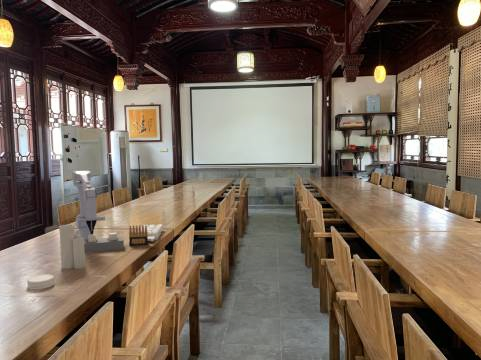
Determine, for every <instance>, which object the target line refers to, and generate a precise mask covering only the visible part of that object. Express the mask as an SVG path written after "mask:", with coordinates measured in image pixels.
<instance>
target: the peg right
mask: <svg viewBox="0 0 481 360" xmlns="http://www.w3.org/2000/svg"><path fill="white" fill-rule="evenodd" d="M117 237H118V236H117V232H109V233H108V238H109V241H111V240H117Z"/></svg>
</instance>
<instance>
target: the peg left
mask: <svg viewBox="0 0 481 360" xmlns="http://www.w3.org/2000/svg"><path fill="white" fill-rule="evenodd" d="M96 239H97V234H96V233H95V234H94V233H93V234H91V235H88V243H89V242H96Z"/></svg>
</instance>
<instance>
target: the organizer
mask: <svg viewBox="0 0 481 360" xmlns="http://www.w3.org/2000/svg"><path fill="white" fill-rule="evenodd" d="M142 225H143V226H144V233H145V225H146V226H147V232H148V242H154V241H158V239H159V237H160V235H161V234H162V233H161V232H163V231H162V230H163V224H161V223H160V224H142ZM141 235H142V226H141ZM138 236H139V229H138ZM135 237H136V232H135ZM135 240H136V239H135Z"/></svg>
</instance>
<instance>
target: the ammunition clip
mask: <svg viewBox="0 0 481 360" xmlns="http://www.w3.org/2000/svg"><path fill="white" fill-rule="evenodd" d="M143 225H145V233H144V226H143ZM146 225H147V224H142V225H141V224H139V225H132V226H131V225H129V231H128V235H129V237H128V239H129V243H128V245H129V247H134V246H135V247H136V245H139V246H149V241H148V232H147V226H146ZM141 227H142V235H141ZM138 230H139V236H138ZM135 233H136V237H135ZM135 239H136V240H135Z"/></svg>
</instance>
